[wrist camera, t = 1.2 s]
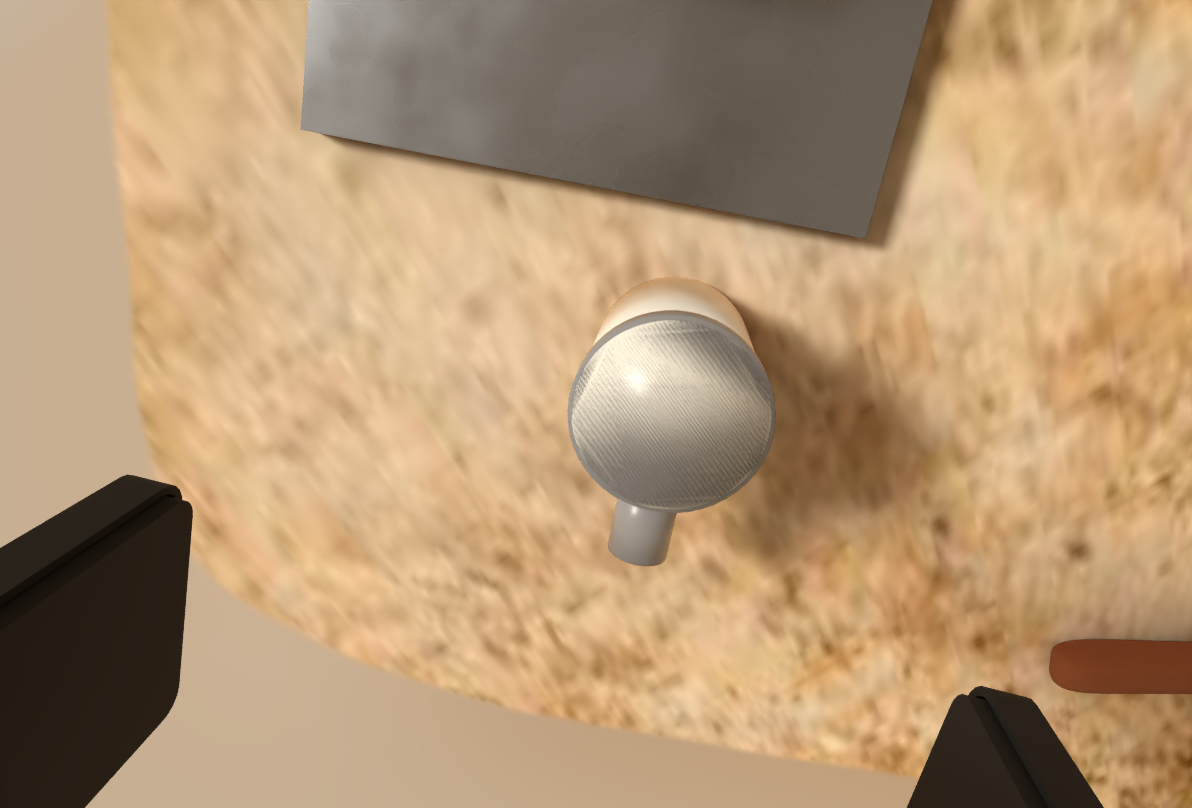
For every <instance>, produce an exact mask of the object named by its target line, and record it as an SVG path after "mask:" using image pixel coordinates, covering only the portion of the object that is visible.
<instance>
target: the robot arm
mask: <svg viewBox="0 0 1192 808" xmlns="http://www.w3.org/2000/svg"><path fill="white" fill-rule="evenodd" d="M192 518H193V510H192V506H191V504H190V503H189V502H188V501H184V500H182V495H181V492H180V490H179V489H178V488H177V487H176V486H174V485H170V484H166V483H162V482H158V481H154V480H149V479H146V478H142V477H137V476H133V475H126V476H122V477H120V478H118V479H117V480H115V481H113V482H112V483H110V484H108V485H106V486H105V487H103V488H101V489H100V490H98V491H96V492H95V493H93V494H91V495H90V496H88V497H86V498H84V499H83V500H81V501H79V502H78V503H76V504H74V505H72V506H71V507H69V508H68V509H66V510H64V511H62V512H61V513H59V514H57V515H56V516H54V517H52V518H50V519H49V520H47V521H45V522H44V523H42V524H41V525H39V526H37V527H35V528H33V529H32V530H30V531H29V532H27V533H25V534H23V535H22V536H20V537H18V538H17V539H15V540H13V541H12V542H10V543H8V544H6V545H5V546H3V547H1V548H0V808H85V807H86V806H87V805H88V803H89V802H90V801H91V800H92V799H93V798H94V797H95V796H96V795H97V793H98V792H99V791H100V790H101V789H102V788H103V787H104V786H105V785H106V783H107V782H108V781H109V780H110V779H111V778H112V777H113V776H114V775H115V773H116V772H117V771H118V770H119V769H120V768H121V767H122V766H123V764H124V763H125V762H126V761H127V760H128V759H129V758H130V757H131V756H132V754H133V753H134V752H135V751H136V750H137V749H138V748H139V747H140V746H141V744H142V743H143V742H144V741H145V740H146V739H147V738H148V737H149V735H150V734H151V733H152V732H153V731H154V730H155V729H156V728H157V726H158V725H159V724H160V723H161V722H162V721H163V720H164V718H165V717H166V716H167V715H168V713H169V711H170V710H171V708H172V706H173V704H174V701H175V699H176V696H177V693H178V688H179V681H180V669H181V656H182V643H183V631H184V619H185V606H186V593H187V580H188V568H189V556H190V543H191V530H192ZM907 808H1104V807H1103V806H1102V804H1101V803H1100V801H1099V800H1098V798H1097V797H1096V795H1095V793H1094V792H1093V790H1092V789H1091V787H1090V786H1089V784H1088V783H1087V781H1086V780H1085V778H1084V777H1083V775H1082V774H1081V772H1080V771H1079V769H1078V767H1077V766H1076V764H1075V763H1074V761H1073V760H1072V758H1071V757H1070V755H1069V754H1068V752H1067V751H1066V749H1065V748H1064V746H1063V744H1062V743H1061V741H1060V740H1059V738H1058V737H1057V735H1056V734H1055V732H1054V731H1053V729H1052V728H1051V726H1050V725H1049V723H1048V722H1047V720H1046V718H1045V717H1044V715H1043V714H1042V712H1041V711H1040V709H1039V708H1038V706H1037V705H1036V704H1035V703H1034V702H1033V700H1032V699H1030V698H1027V697H1023V696H1019V695H1015V694H1011V693H1007V692H1003V691H999V690H995V689H991V688H987V687H983V686H979V687H975V688H974V689H973V690H972V691H971V692H970V693H969V695H964V694H961V695H958V696H957V697H956V698H955V699H954V701H953V702H952V704H951V706H950V708H949V711H948V713H947V715H946V718H945V720H944V722H943V725H942V727H941V729H940V732H939V734H938V736H937V739H936V741H935V743H934V746H933V748H932V750H931V753H930V755H929V757H928V760H927V762H926V764H925V767H924V769H923V771H922V774H921V776H920V778H919V780H918V783H917V785H916V788H915V790H914V792H913V795H912V797H911V799H910V802H909V804H908V806H907Z"/></svg>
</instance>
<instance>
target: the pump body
mask: <svg viewBox="0 0 1192 808" xmlns="http://www.w3.org/2000/svg"><path fill="white" fill-rule="evenodd" d="M775 417H776V411H775V400H774V396H773V392H772V387H771V385H770V382H769V379H768V377H767V374H766V372H765V369H764V367H763V365H762V363H761V361H760V359H759V358H758V356H757V354H756V353H755V351H754V349H753V346H752V343H751V340H750V337H749V335H748V332H747V329H746V326H745V324H744V321H743V319H742V317H741V315H740V314H739V312H738V310H737V309H736V308H735V306H734V305H733V304H732V303H731V302H730V301H729V300H728V299H727V298H726V297H725V296H724V295H723V294H722V293H720V292H719V291H718V290H716V289H714V288H713V287H711V286H709V285H707V284H705V283H702V282H700V281H697V280H693V279H689V278H682V277H666V278H658V279H654V280H651V281H647V282H645V283H643V284H640V285H638V286H636V287H635V288H633V289H631V290H630V291H628V292H627V293H626V294H624V295H623V296H622V297H621V298H620V299H619V300H618V301H617V302H616V303H615V304H614V305H613V307H612V308H611V309H610V311H609V312H608V314H607V316H606V317H605V319H604V321H603V324H602V326H601V328H600V331H599V333H598V335H597V338H596V340H595V342H594V345H593V347H592V348H591V350H590V351H589V352H588V353H587V355H586V357H585V358H584V360H583V362H582V364H581V365H580V368H579V370H578V372H577V375H576V377H575V380H574V382H573V384H572V388H571V392H570V396H569V403H568V426H569V432H570V437H571V440H572V443H573V447H574V449H575V451H576V454H577V456H578V458H579V460H580V461H581V463H582V465H583V466H584V468H585V469H586V471H587V472H588V473H589V474H590V476H591V477H592V478H593V479H594V480H595V481H596V482H597V483H598V484H599V485H600V486H601V487H602V488H603V489H605V490H606V491H607V492H609V493H610V494H612V495H613V496H614V497H616V498H617V503H616V508H615V513H614V518H613V522H612V527H611V532H610V537H609V542H608V549H609V551H610V552H611V553H612V554H613V555H614V556H615V557H617V558H619V559H620V560H622V561H625V562H627V563H630V564H634V565H639V566H655V565H659V564H661V563H663V562H664V561H665V559H666V556H667V552H668V548H669V543H670V539H671V535H672V530H673V526H674V522H675V518H676V513H681V512H690V511H695V510H699V509H703V508H706V507H709V506H712V505H714V504H716V503H718V502H720V501H723V500H725V499H726V498H728V497H729V496H731V495H732V494H734V493H736V492H737V491H738V490H739V489H740V488H742V487H743V486H744V485H745V484H746V483H747V482H748V481H749V480H750V479H751V478H752V477H753V476H754V474H755V473H756V472H757V470H758V469H759V467H760V466H761V464H762V463H763V461H764V459H765V457H766V455H767V453H768V451H769V448H770V445H771V442H772V439H773V434H774V429H775Z"/></svg>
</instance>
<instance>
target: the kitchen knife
mask: <svg viewBox="0 0 1192 808" xmlns="http://www.w3.org/2000/svg"><path fill="white" fill-rule="evenodd" d="M1049 671H1050V676H1051V678H1052V680H1053V681H1054V682H1055V683H1056V684H1057V685H1058V686H1060V687H1062V688H1064V689H1067V690H1071V691H1075V692H1083V693H1099V694H1192V642H1176V641H1142V640H1074V641H1067V642H1063V643H1060V644H1057V645H1056V646H1055V647H1054V648H1053V649H1052V651H1051V656H1050V666H1049Z"/></svg>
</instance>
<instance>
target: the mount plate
mask: <svg viewBox="0 0 1192 808" xmlns="http://www.w3.org/2000/svg"><path fill="white" fill-rule="evenodd" d="M932 1H933V0H309V8H308V23H307V39H306V55H305V71H304V87H303V103H302V119H301V130H306V131H311V132H316V133H321V134H326V135H332V136H337V137H342V138H347V139H352V140H357V141H363V142H368V143H373V144H378V145H383V146H388V147H394V148H399V149H404V150H409V151H414V152H420V153H425V154H430V155H435V156H440V157H445V158H451V159H456V160H461V161H466V162H471V163H476V164H482V165H487V166H492V167H497V168H502V169H508V170H513V171H518V172H523V173H528V174H533V175H539V176H544V177H549V178H554V179H559V180H564V181H570V182H575V183H580V184H585V185H590V186H595V187H601V188H606V189H611V190H616V191H621V192H627V193H632V194H637V195H642V196H647V197H652V198H658V199H663V200H668V201H673V202H678V203H683V204H689V205H694V206H699V207H704V208H709V209H714V210H720V211H725V212H730V213H735V214H740V215H746V216H751V217H756V218H761V219H766V220H771V221H777V222H782V223H787V224H792V225H797V226H802V227H808V228H813V229H818V230H823V231H828V232H833V233H839V234H844V235H849V236H854V237H859V238H865V239H866V235H867V232H868V228H869V225H870V221H871V217H872V214H873V210H874V207H875V203H876V200H877V196H878V193H879V189H880V185H881V182H882V178H883V175H884V171H885V168H886V164H887V161H888V157H889V153H890V150H891V146H892V143H893V139H894V136H895V132H896V129H897V125H898V122H899V118H900V114H901V111H902V107H903V104H904V100H905V97H906V93H907V90H908V86H909V82H910V79H911V75H912V72H913V68H914V65H915V61H916V58H917V54H918V50H919V47H920V43H921V40H922V36H923V33H924V29H925V26H926V22H927V18H928V15H929V11H930V8H931V4H932Z"/></svg>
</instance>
